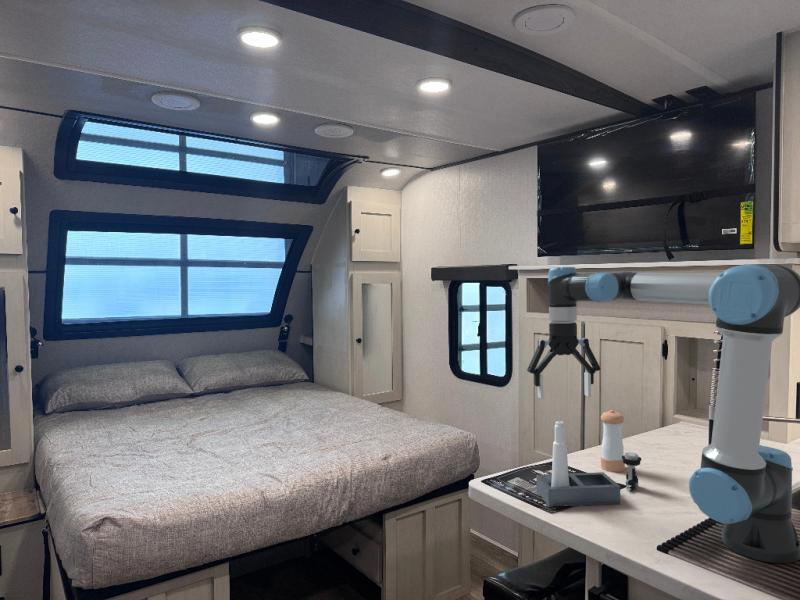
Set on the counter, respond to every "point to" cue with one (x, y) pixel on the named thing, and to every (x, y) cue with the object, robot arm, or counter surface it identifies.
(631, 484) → the push button
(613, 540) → the counter surface
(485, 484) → the counter surface
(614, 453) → the pepper shaker
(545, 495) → the square-hole rail
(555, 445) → the cosmetic bottle
